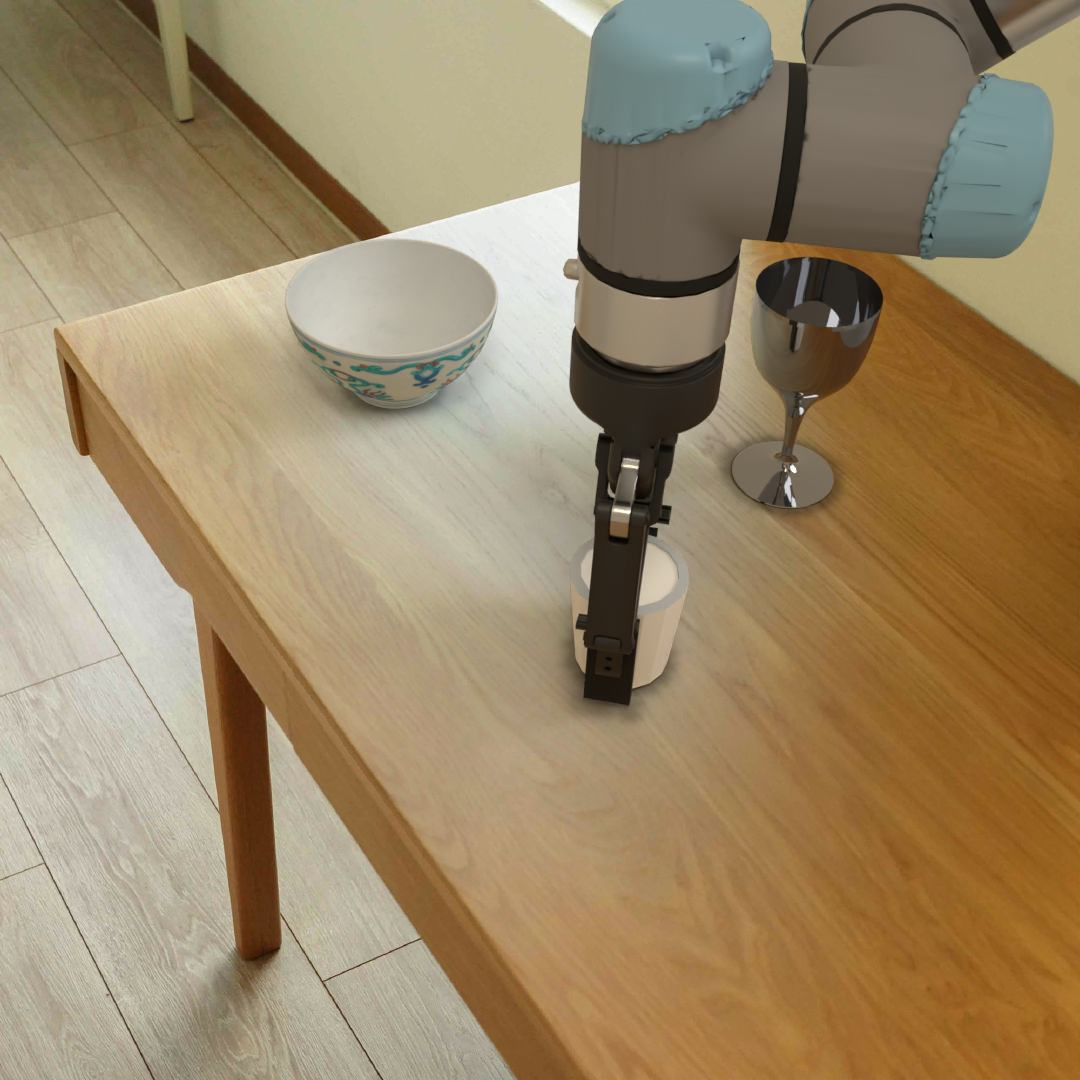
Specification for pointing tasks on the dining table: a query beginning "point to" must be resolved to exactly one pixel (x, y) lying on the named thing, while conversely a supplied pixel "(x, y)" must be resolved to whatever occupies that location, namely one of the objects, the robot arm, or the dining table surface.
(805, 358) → the wine glass
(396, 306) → the chinaware
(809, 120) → the robot arm
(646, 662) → the shot glass
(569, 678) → the dining table surface
